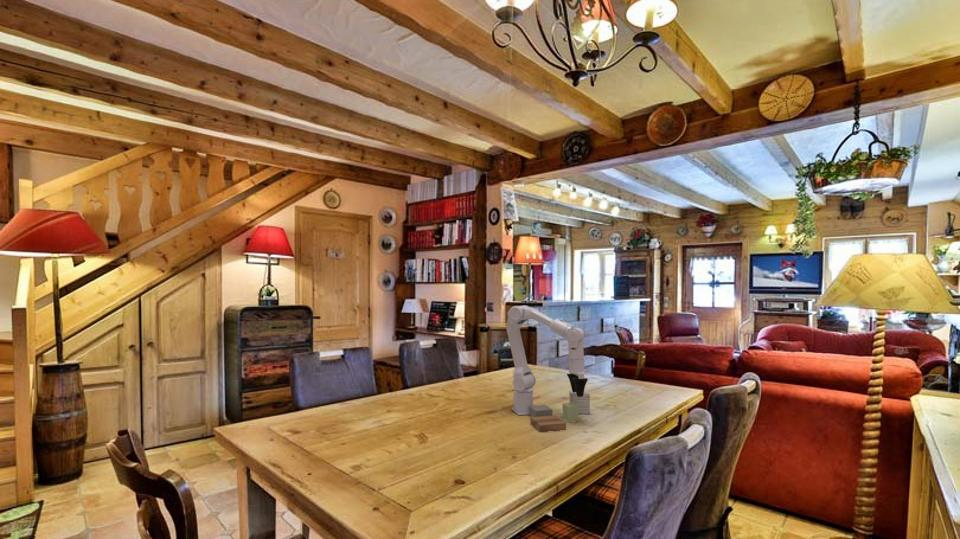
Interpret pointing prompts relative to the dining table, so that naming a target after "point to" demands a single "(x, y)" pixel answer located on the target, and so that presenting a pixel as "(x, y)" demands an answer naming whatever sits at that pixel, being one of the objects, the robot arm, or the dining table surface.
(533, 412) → the grey block
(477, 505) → the dining table surface
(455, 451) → the dining table surface
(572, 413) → the sage block
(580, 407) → the medicine box
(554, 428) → the walnut block
